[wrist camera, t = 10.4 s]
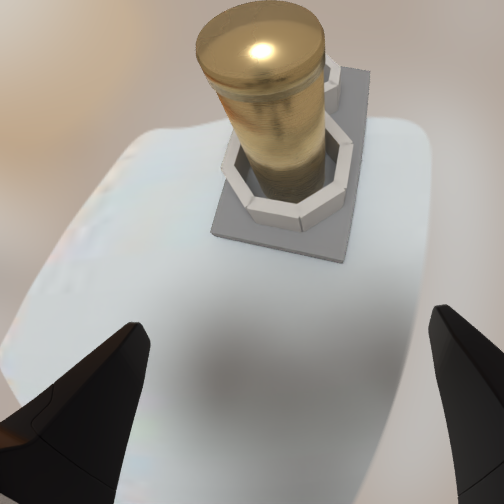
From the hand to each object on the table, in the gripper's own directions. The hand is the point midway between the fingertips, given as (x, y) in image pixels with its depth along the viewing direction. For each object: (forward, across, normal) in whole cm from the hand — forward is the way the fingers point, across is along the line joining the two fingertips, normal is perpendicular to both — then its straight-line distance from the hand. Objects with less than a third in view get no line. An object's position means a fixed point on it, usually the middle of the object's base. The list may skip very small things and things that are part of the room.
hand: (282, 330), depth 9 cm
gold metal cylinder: (+14, 0, 0) cm, 14 cm away
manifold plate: (+17, -1, -1) cm, 17 cm away
